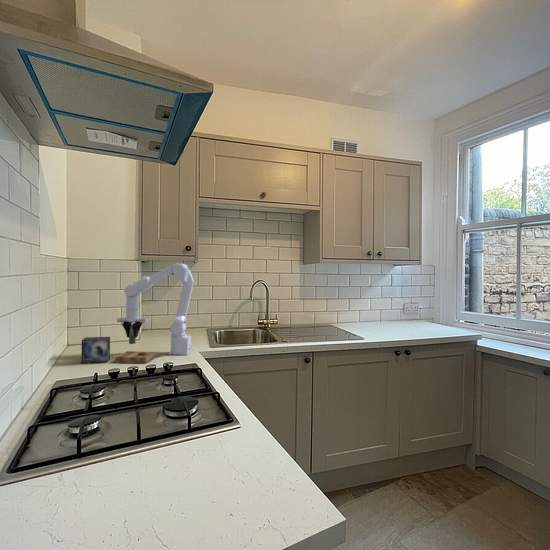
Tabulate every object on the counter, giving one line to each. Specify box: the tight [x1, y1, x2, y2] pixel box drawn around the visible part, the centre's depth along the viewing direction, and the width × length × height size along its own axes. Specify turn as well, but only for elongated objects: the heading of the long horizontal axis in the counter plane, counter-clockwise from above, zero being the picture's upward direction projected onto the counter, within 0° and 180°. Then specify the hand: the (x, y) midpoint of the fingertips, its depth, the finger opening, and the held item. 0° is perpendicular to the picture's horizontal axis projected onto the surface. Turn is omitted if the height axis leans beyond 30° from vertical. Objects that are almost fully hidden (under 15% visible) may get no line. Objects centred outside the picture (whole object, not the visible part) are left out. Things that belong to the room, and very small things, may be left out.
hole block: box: [114, 350, 158, 364], centre depth 157 cm, size 14×11×2 cm
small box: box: [80, 336, 111, 365], centre depth 153 cm, size 11×6×10 cm, turn 105°
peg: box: [128, 323, 137, 345], centre depth 169 cm, size 3×3×9 cm
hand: (132, 337), depth 169 cm, fingers closed on peg, 3 cm apart
